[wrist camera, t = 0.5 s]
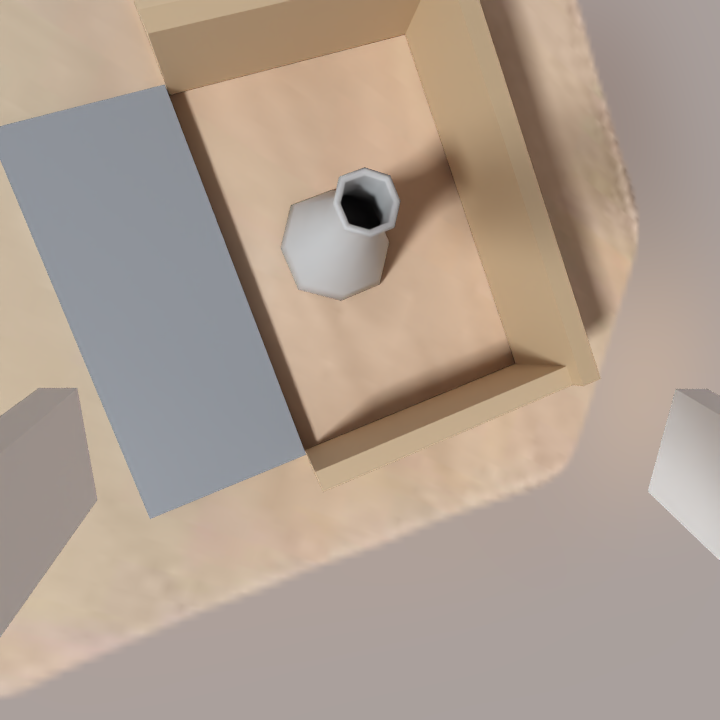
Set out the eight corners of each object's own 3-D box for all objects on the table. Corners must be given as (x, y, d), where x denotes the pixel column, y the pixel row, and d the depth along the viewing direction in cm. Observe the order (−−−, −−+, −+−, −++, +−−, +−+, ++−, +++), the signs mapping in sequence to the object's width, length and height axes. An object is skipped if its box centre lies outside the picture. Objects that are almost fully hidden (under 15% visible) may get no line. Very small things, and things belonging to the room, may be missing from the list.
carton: (127, -16, 30) (87, -126, 23) (387, -72, 33) (421, -182, 26) (311, 466, 33) (325, 497, 26) (534, 373, 36) (600, 378, 29)
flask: (275, 192, 32) (281, 122, 22) (383, 190, 33) (434, 123, 23) (285, 304, 32) (296, 284, 22) (392, 297, 34) (447, 275, 24)
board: (-3, 137, 29) (-13, 129, 28) (167, 93, 30) (164, 84, 29) (153, 513, 31) (150, 518, 30) (304, 451, 32) (305, 454, 31)
